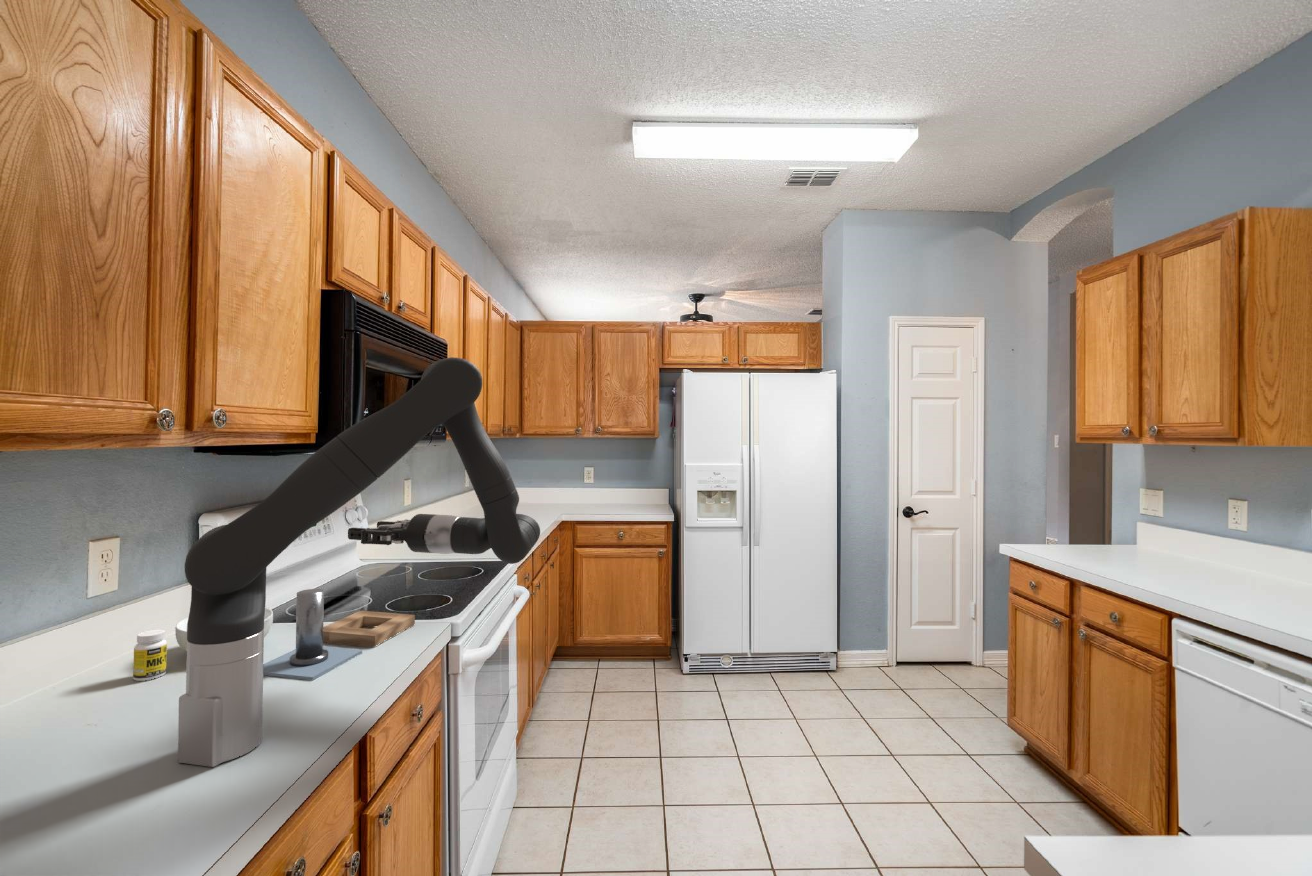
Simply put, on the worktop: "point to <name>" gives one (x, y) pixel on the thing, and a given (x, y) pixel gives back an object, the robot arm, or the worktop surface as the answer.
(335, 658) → the mat
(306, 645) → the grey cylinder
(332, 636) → the frame
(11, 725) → the worktop surface
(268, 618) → the cereal bowl
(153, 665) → the supplement bottle
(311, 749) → the worktop surface
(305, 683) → the worktop surface
